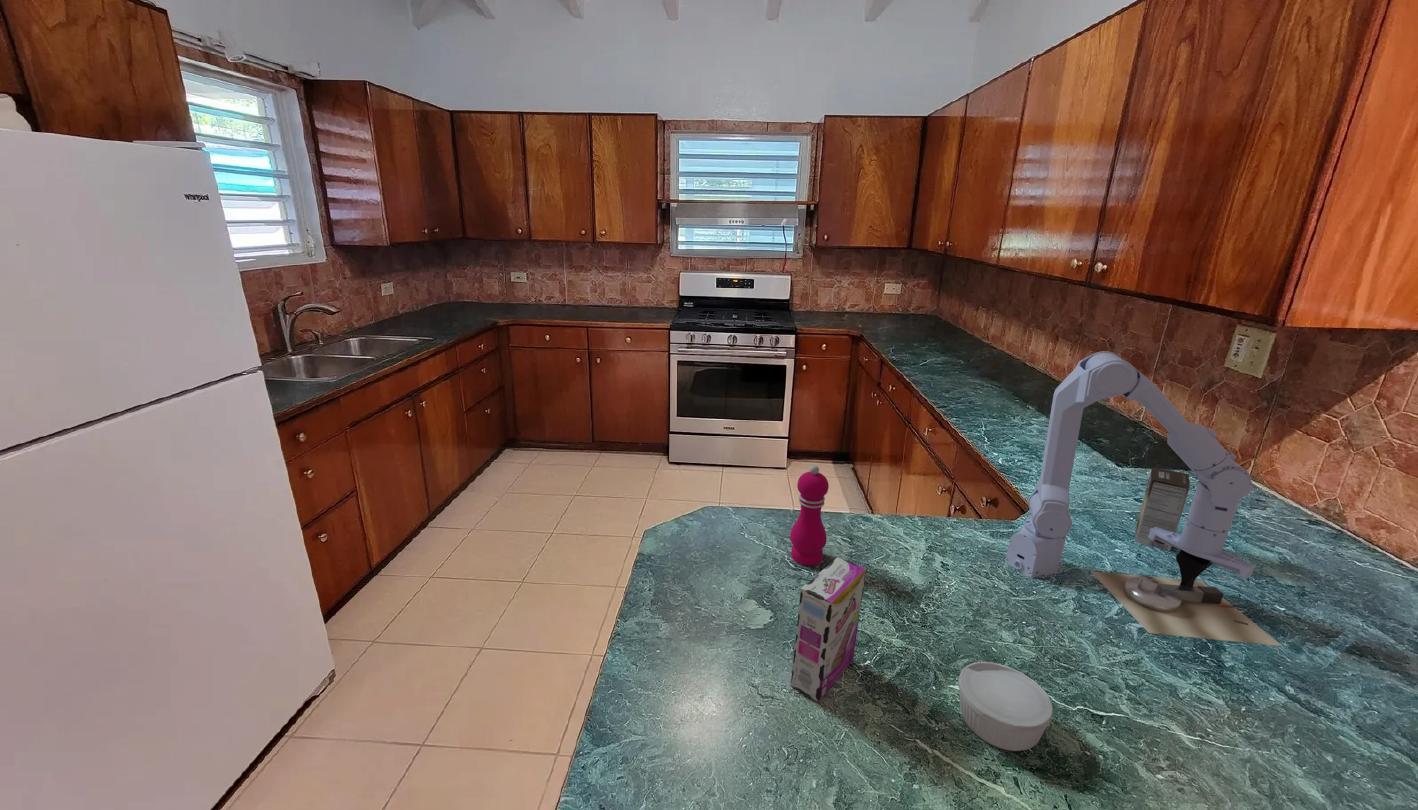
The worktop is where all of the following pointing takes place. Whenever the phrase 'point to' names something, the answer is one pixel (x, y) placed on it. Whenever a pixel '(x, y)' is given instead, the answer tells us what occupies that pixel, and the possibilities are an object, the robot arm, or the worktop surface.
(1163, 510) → the coffee box
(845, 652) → the candy bar box
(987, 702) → the ramekin
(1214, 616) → the dial board
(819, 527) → the pepper mill
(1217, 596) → the dial
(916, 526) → the worktop surface
